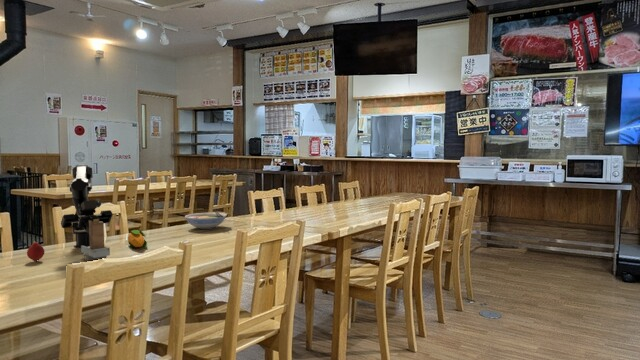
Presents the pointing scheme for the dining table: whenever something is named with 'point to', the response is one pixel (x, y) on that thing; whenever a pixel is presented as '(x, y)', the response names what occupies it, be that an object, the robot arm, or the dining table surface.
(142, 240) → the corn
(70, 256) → the dining table surface
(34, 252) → the red oval piece
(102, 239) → the brown rectangular block
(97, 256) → the grey piece
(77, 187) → the robot arm
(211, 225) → the ramen bowl
